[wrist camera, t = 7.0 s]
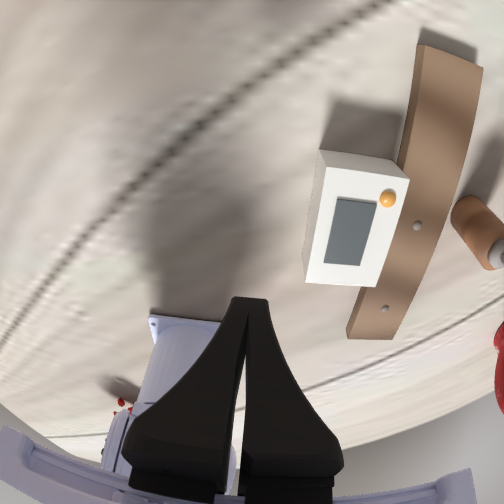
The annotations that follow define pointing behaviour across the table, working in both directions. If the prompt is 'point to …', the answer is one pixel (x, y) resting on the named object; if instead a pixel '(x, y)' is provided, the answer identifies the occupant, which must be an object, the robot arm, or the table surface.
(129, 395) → the table surface
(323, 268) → the box
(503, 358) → the mug
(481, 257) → the awl
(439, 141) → the batten
